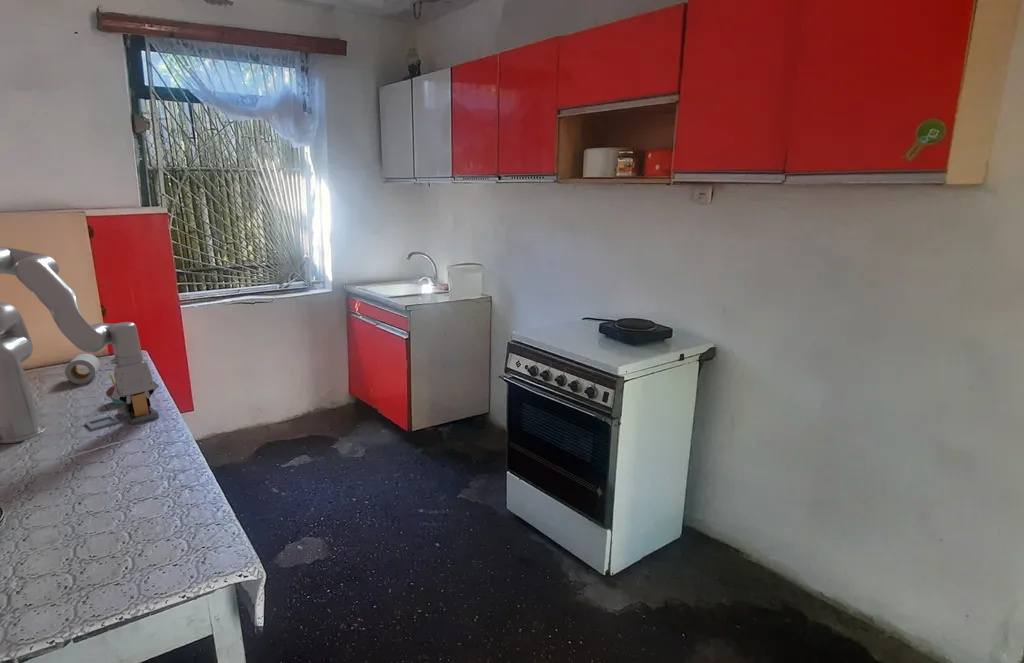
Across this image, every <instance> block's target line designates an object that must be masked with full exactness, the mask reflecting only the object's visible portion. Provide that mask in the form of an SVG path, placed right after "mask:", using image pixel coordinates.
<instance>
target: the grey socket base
mask: <svg viewBox="0 0 1024 663" xmlns="http://www.w3.org/2000/svg"><path fill="white" fill-rule="evenodd" d="M123 397H124V396H123ZM149 408H150V410H148V411H149V413H147V414H144V415H140V416H136V417H133V416H132V414H131V413H130V412H128V410H127V405H126V403H125V402H124V403H123V406H120V407H116V411H117V415H119V416H120V417H122V419H124V420H125V421H126V422H128V423H129V424H130V425H131V426H136V425H140V424H143V423H146V422H149V421H153V420H157V419H160V415H159V412H158V411H157V410H156V409H154V408H153V407H151V406H150V407H149Z"/></svg>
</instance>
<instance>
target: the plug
mask: <svg viewBox="0 0 1024 663" xmlns="http://www.w3.org/2000/svg"><path fill="white" fill-rule="evenodd" d="M131 403H132V404H133V409H134V414H132V416H133V417H136V416H140V415H144V414H147V413H149V411H148V406H147V401H146V396H145V393H144V392H141V393H137V394H133V395H131Z"/></svg>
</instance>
